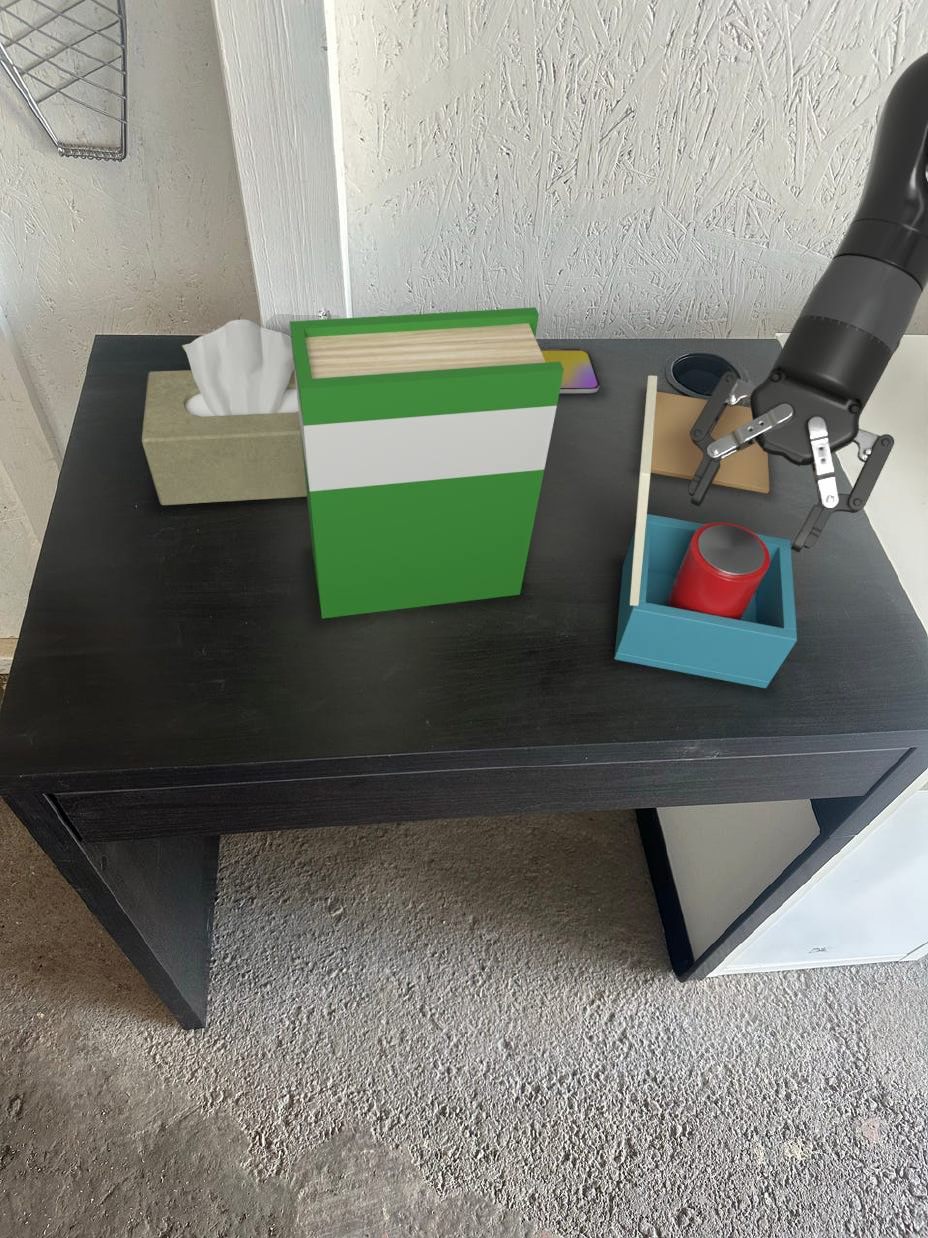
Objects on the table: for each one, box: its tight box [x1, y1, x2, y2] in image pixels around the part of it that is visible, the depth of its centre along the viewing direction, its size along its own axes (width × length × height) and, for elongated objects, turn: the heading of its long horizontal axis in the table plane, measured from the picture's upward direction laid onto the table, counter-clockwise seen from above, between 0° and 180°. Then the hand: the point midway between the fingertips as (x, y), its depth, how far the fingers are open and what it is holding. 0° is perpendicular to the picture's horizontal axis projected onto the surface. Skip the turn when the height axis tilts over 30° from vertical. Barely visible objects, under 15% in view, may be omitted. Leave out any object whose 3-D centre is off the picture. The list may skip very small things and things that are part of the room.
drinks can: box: [664, 522, 770, 620], centre depth 70 cm, size 6×6×10 cm
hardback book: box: [289, 307, 564, 620], centre depth 68 cm, size 18×7×24 cm, turn 102°
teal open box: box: [613, 513, 798, 689], centre depth 73 cm, size 13×11×7 cm
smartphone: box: [540, 348, 601, 394], centre depth 96 cm, size 7×1×15 cm
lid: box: [630, 375, 658, 606], centre depth 65 cm, size 14×11×1 cm
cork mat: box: [651, 391, 770, 494], centre depth 91 cm, size 13×13×1 cm
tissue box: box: [141, 319, 307, 506], centre depth 78 cm, size 19×10×16 cm, turn 99°
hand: (744, 527), depth 68 cm, fingers open, 8 cm apart
